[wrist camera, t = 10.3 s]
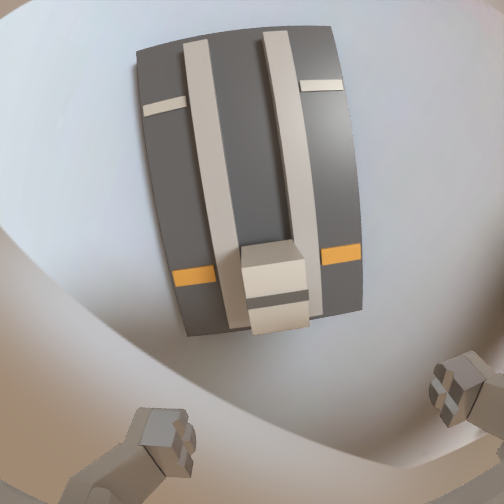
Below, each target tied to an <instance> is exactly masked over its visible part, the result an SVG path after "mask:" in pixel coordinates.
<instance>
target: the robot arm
mask: <svg viewBox="0 0 504 504" xmlns="http://www.w3.org/2000/svg"><path fill="white" fill-rule="evenodd" d="M434 375H435V376H436V377H435V378H434V379H433V380H432V382H431V383H430V387H429V397H430V400H431V403H432V404H433V406H434V407H435V408H438V409H440V410H441V411H440V417H441V418H442V420H443V421H444V423H445V424H446V426H447V428H449V427H452V426H454V425H456V424H458V423H461V422H463V421H465V420H467V421H468V422H470V423H472V424H474V425H476V426H477V427H479V428H481V429H483V430H485V431H487V432H488V433H490V434H492V435H494V436H496V437H498V438H500V439H502V440H504V374H501V373H500V374H498V375H497V374H496V373H495V372H494V371H493V370H492V369H491V368H490V367H489V366H488V365H487V364H486V363H485V362H484V361H483V360H482V359H481V358H480V357H479V356H478V355H477V354H476V353H475V352H474V351H468V352H466V353H463V354H461V355H459V356H456V357H454V358H451V359H449V360H446V361H443V362H441V363H438V364H437V365H436V367H435V369H434ZM187 421H188V415H187V413H186V410H184V409H161V408H139V409H138V410H137V411H136V413H135V415H134V418H133V421H132V423H131V426H130V428H129V430H128V433H127V435H126V439H125V441H124V443H123V444H122V443H119V444H118V445H116V446H115V447H113V448H112V449H111V450H109V451H108V452H107V453H105V454H104V455H102V456H101V457H99V458H98V459H97V460H95V461H94V462H92V463H91V464H89V465H88V466H87V467H85V468H84V469H82V470H81V471H79V472H78V473H76V474H75V475H73V476H72V477H70V478H69V481H68V483H67V485H66V487H65V489H64V492H63V494H62V496H61V498H60V501H59V503H58V504H142V503H143V501H144V500H145V499H146V498H147V497H148V496H149V495H150V494H151V493H152V492H153V491H154V490H155V489H156V488H157V487H158V486H159V485H160V484H161V483H162V482H163V480H164V479H165V478H166V477H184V478H191V473H192V467H193V460H192V458H191V454H193V453H194V452H195V448H196V435H195V431H194V428H193V426H192V425H191V424H190V423H188V422H187ZM496 454H497V455H498V457H499V458H500V460H501V462H500V463H498V464H497V465H495V466H494V467H492V468H491V469H489V470H487V471H486V472H484V473H483V474H481V475H479V476H478V477H476V478H474V479H473V480H471V481H469V482H468V483H466V484H464V485H462V486H460V487H458V488H457V489H455V490H453V491H451V492H449V493H447V494H445V495H443V496H441V497H439V498H436V499H434V500H432V501H430V502H428V503H425V504H504V441H503V443H502V444H501V445H500V447H499V448H498V450H497V453H496ZM0 504H47V503H45V502H43V501H41V500H39V499H37V498H35V497H33V496H30V495H28V494H27V493H25V492H23V491H21V490H19V489H17V488H15V487H13V486H12V485H10V484H8V483H6V482H5V481H3V480H1V479H0Z"/></svg>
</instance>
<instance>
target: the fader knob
mask: <svg viewBox="0 0 504 504" xmlns="http://www.w3.org/2000/svg"><path fill="white" fill-rule="evenodd" d="M241 269H242V275H243V281H244V287H245V293H246V299H245V300H246V306H247V310H248V311H249V317H250V323H251V328H252V334H253V335H259V334H266V333H272V332H279V331H285V330H291V329H297V328H303V327H309V326H310V323H309V308H308V300H309V290H308V289H307V281H306V269H305V259H304V257H303V256H302V254H301V253H300V251H299V250H298V248H297V246H296V245H295V243H294V242H293V240H292V239H290V240H283V241H276V242H269V243H263V244H256V245H249V246H242V247H241Z"/></svg>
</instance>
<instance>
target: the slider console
mask: <svg viewBox="0 0 504 504" xmlns="http://www.w3.org/2000/svg"><path fill="white" fill-rule="evenodd" d="M136 56H137V70H138V82H139V93H140V103H141V112H142V120H143V128H144V136H145V143H146V150H147V157H148V163H149V169H150V175H151V181H152V187H153V193H154V198H155V203H156V209H157V214H158V219H159V224H160V228H161V233H162V238H163V243H164V247H165V251H166V256H167V260H168V264H169V269H170V273H171V277H172V281H173V285H174V289H175V293H176V297H177V300H178V304H179V308H180V312H181V315H182V319H183V322H184V326H185V329H186V333H187V336H199V335H208V334H217V333H226V332H234V331H242V330H249V329H252V328H251V323H250V317H249V311H248V310H247V306H246V300H245V299H246V293H245V287H244V281H243V275H242V269H241V247H242V246H249V245H256V244H263V243H269V242H276V241H283V240H290V239H292V240H293V242H294V243H295V245H296V246H297V248H298V250H299V251H300V253H301V254H302V256H303V257H304V259H305V269H306V281H307V289H308V290H309V300H308V308H309V320H313V319H318V318H324V317H329V316H334V315H339V314H344V313H349V312H354V311H359V310H362V293H363V270H362V234H361V215H360V200H359V188H358V177H357V167H356V158H355V150H354V142H353V135H352V128H351V121H350V115H349V109H348V103H347V97H346V92H345V86H344V81H343V76H342V71H341V67H340V62H339V58H338V53H337V49H336V45H335V41H334V37H333V33H332V29H331V26H277V27H262V28H250V29H241V30H233V31H225V32H219V33H212V34H207V35H201V36H196V37H191V38H186V39H181V40H177V41H173V42H169V43H165V44H161V45H157V46H153V47H150V48H146V49H143V50H139V51H136Z"/></svg>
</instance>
